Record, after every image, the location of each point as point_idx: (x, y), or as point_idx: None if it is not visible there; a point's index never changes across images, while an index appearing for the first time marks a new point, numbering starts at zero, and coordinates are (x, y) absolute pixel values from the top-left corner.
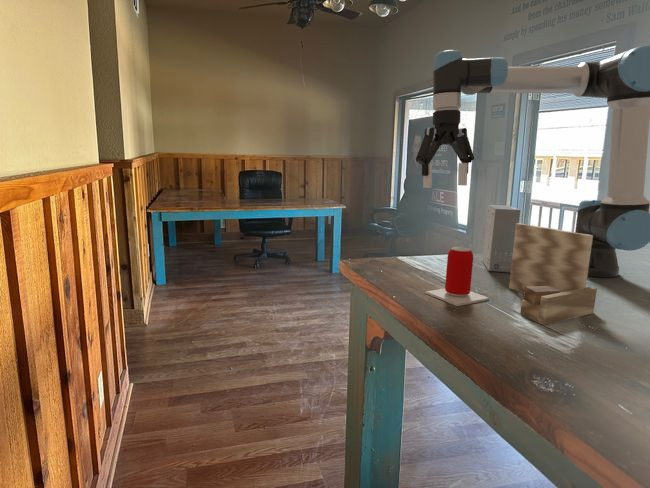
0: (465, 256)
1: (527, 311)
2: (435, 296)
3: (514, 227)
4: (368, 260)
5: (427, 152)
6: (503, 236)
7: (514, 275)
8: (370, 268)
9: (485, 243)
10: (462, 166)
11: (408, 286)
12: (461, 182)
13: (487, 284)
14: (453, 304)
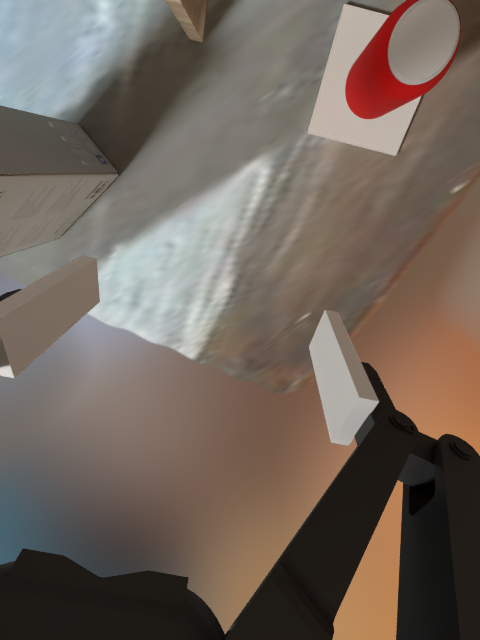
0: (451, 2)
1: None
2: (409, 120)
3: None
4: (257, 373)
5: (450, 504)
6: (36, 144)
7: (195, 7)
8: (303, 339)
9: (36, 236)
10: (25, 331)
11: (366, 216)
12: (90, 287)
13: (217, 105)
14: None
